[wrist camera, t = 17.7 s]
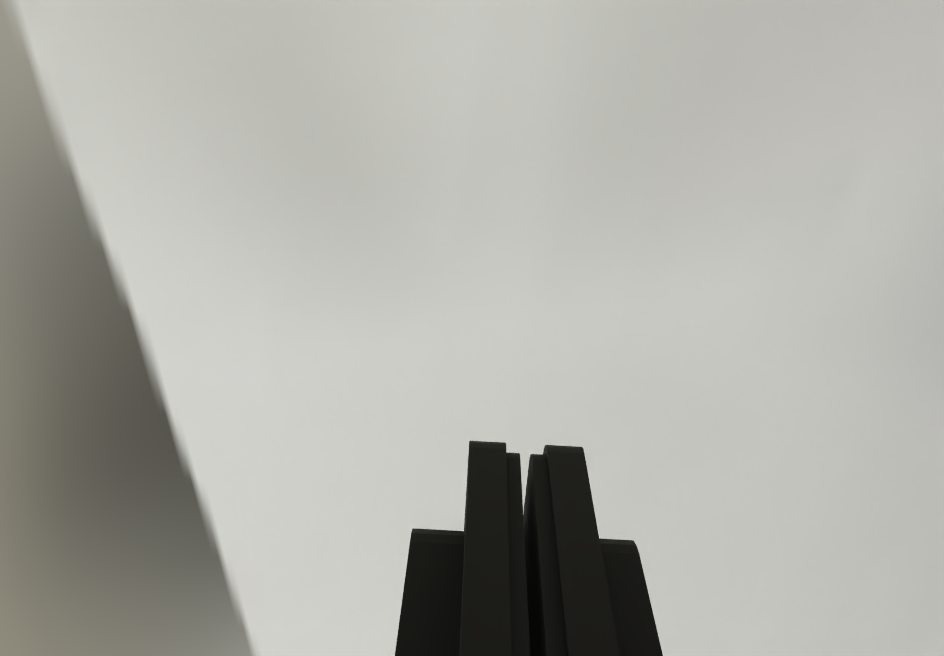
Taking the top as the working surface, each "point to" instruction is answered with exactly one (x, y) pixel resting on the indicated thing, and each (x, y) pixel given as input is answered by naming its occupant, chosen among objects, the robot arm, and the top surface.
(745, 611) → the top surface
